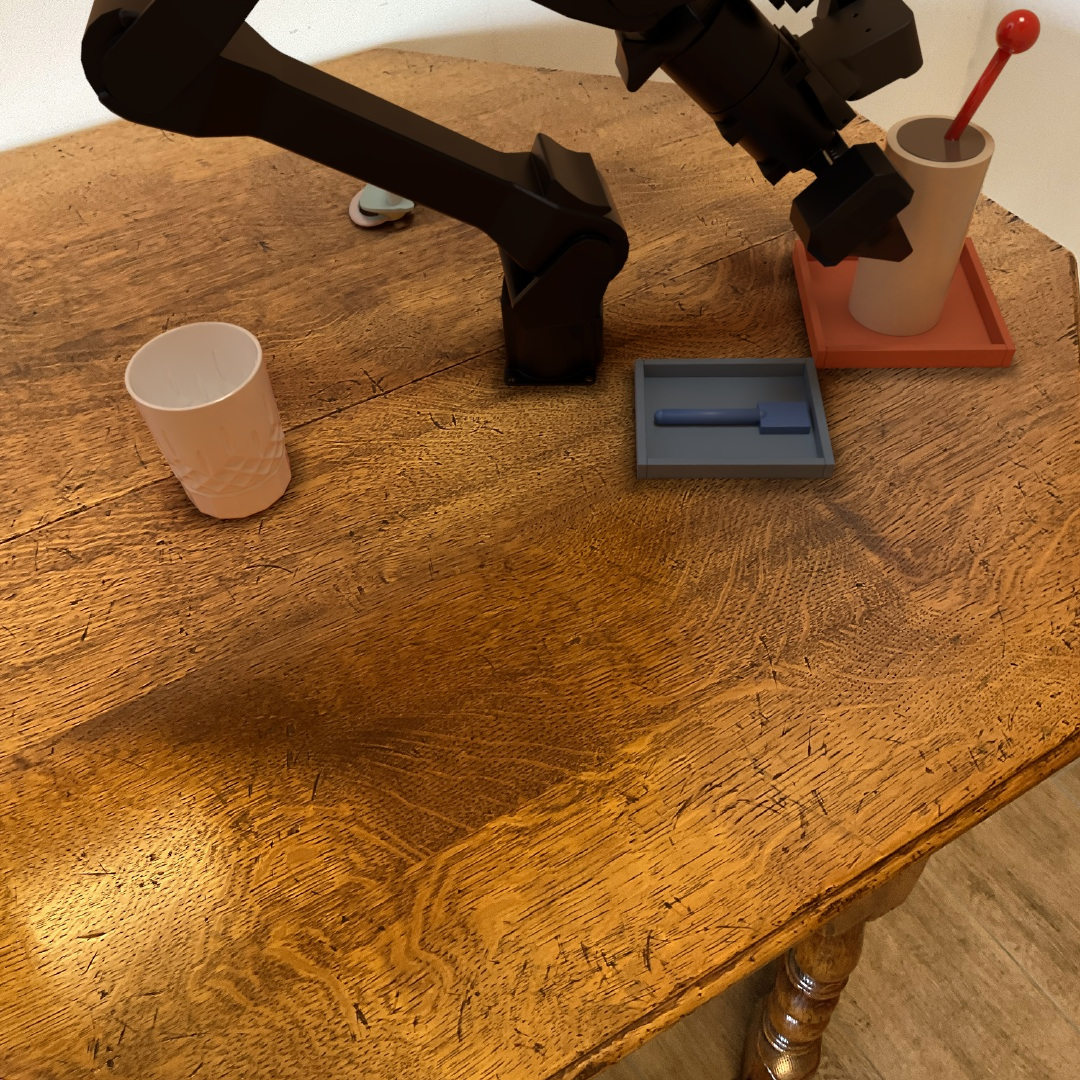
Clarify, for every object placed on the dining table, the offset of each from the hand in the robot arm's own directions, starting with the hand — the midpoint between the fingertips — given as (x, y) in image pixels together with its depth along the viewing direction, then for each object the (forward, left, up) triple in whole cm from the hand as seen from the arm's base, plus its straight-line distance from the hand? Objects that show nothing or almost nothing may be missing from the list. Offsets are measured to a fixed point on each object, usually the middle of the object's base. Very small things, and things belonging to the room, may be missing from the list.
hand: (879, 216), depth 67 cm
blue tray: (-10, -11, -8) cm, 18 cm away
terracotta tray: (+3, +1, -8) cm, 9 cm away
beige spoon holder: (+3, +1, -8) cm, 8 cm away
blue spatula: (-10, -11, -8) cm, 17 cm away
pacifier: (-37, +16, -9) cm, 41 cm away
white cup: (-42, -16, -9) cm, 46 cm away
